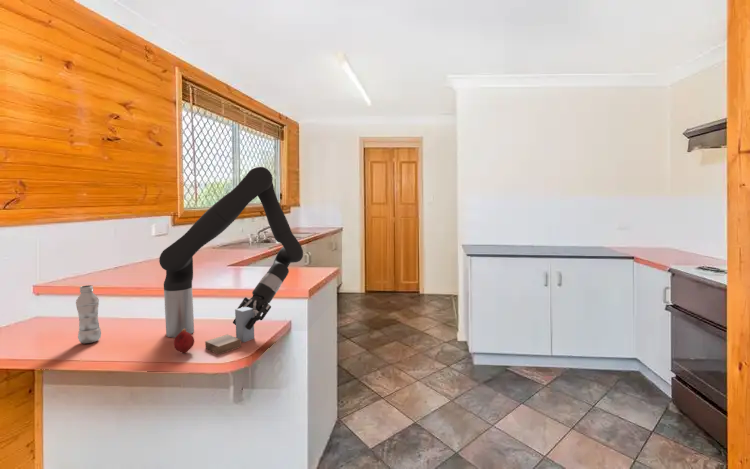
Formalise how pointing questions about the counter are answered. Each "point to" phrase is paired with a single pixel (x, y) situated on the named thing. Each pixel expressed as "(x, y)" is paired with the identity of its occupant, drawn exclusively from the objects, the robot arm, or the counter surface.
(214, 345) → the base slab
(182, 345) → the onion
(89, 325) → the plastic bottle
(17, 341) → the counter surface
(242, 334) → the pillar
